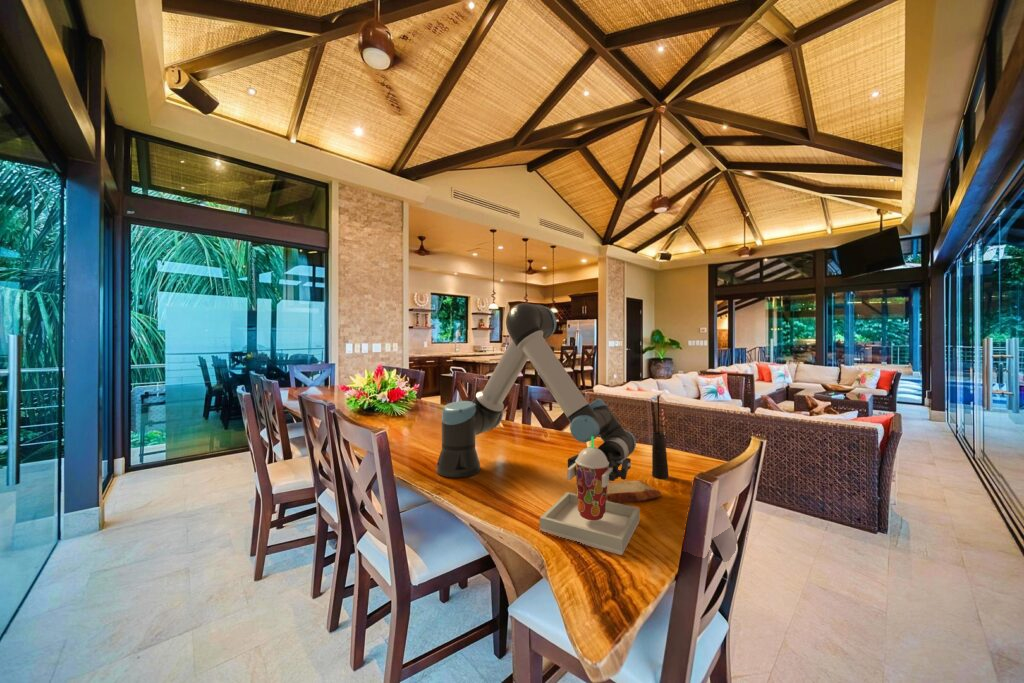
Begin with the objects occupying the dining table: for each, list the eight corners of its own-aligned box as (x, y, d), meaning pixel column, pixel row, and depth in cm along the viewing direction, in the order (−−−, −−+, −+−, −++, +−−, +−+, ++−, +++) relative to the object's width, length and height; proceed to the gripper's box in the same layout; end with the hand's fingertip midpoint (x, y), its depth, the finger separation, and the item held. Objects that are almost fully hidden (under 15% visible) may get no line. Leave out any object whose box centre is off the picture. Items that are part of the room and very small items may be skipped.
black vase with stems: (654, 468, 143) (655, 391, 142) (680, 476, 136) (681, 394, 135) (640, 474, 137) (642, 393, 136) (667, 482, 130) (668, 397, 129)
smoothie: (608, 510, 103) (609, 433, 103) (608, 525, 95) (609, 442, 95) (575, 506, 105) (576, 431, 105) (573, 521, 97) (574, 439, 97)
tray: (539, 531, 97) (539, 517, 97) (567, 504, 113) (567, 492, 113) (621, 555, 87) (622, 539, 87) (639, 521, 103) (639, 508, 103)
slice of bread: (586, 500, 116) (586, 488, 116) (607, 481, 131) (607, 470, 131) (649, 516, 106) (649, 502, 106) (663, 493, 122) (664, 481, 122)
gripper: (649, 472, 110) (629, 503, 91) (577, 460, 121) (545, 484, 101) (649, 446, 110) (629, 470, 90) (578, 435, 121) (546, 455, 101)
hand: (585, 478), depth 96 cm, fingers closed on smoothie, 8 cm apart
